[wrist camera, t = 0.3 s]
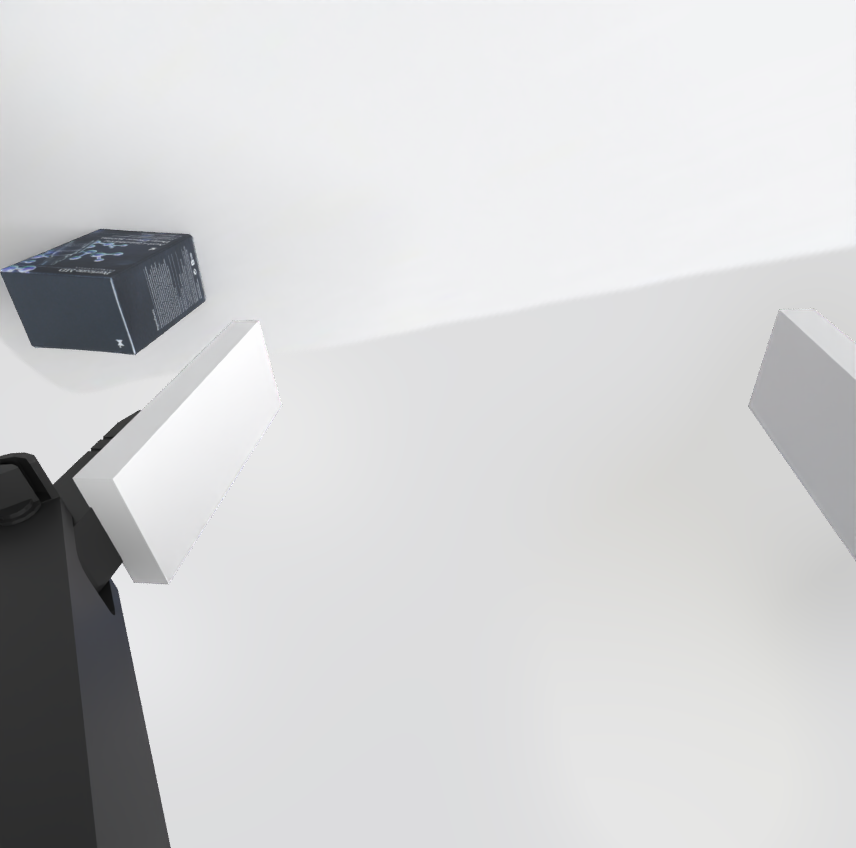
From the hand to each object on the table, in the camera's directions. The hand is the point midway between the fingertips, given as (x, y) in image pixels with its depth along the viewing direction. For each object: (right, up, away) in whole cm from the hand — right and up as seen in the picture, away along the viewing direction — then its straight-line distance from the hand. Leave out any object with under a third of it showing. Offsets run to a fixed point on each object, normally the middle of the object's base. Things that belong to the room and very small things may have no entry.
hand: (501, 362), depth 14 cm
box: (-24, +12, +30) cm, 40 cm away
